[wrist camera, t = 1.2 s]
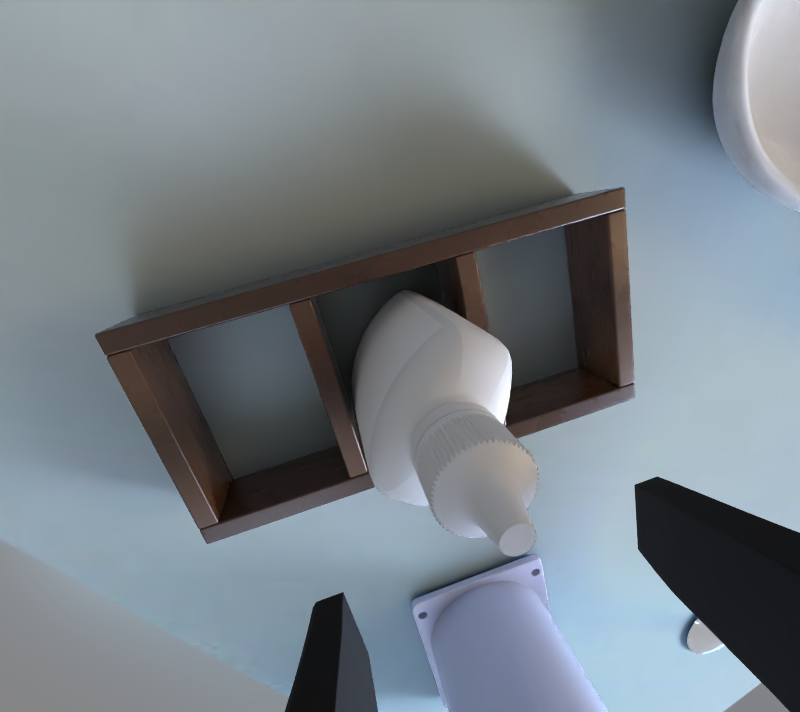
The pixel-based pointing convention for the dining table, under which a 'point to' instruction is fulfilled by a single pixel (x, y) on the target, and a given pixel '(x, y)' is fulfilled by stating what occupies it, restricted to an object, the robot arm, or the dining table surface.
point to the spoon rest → (761, 96)
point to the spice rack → (344, 464)
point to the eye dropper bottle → (443, 421)
